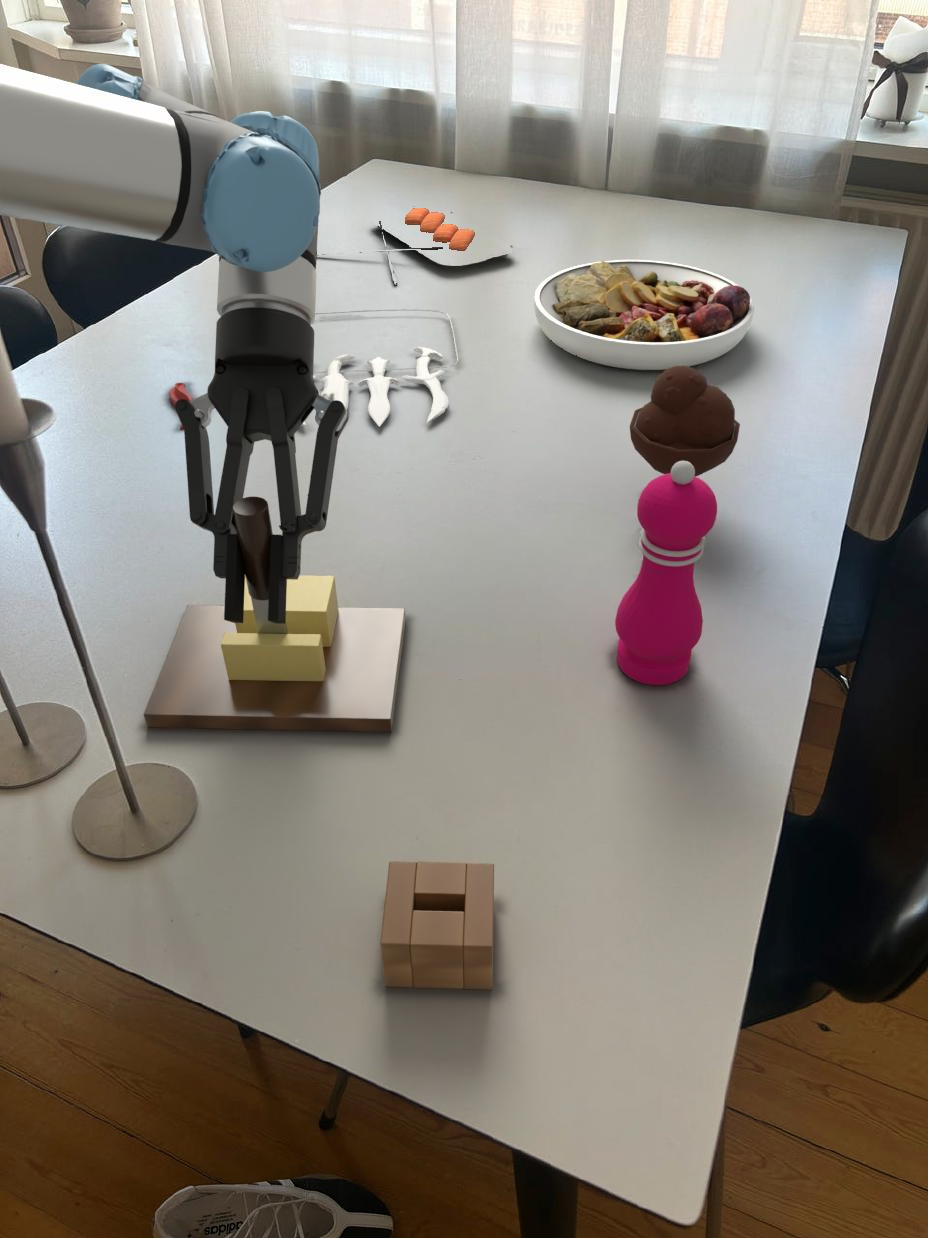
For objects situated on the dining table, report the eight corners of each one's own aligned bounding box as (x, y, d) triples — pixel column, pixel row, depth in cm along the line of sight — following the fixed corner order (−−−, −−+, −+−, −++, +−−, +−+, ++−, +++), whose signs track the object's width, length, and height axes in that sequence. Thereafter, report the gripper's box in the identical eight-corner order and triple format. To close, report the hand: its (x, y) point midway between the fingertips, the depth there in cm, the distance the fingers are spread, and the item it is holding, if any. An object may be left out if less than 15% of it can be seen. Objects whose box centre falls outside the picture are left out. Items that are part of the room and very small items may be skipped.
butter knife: (260, 674, 81) (228, 515, 70) (266, 653, 83) (236, 495, 72) (291, 675, 81) (264, 515, 70) (296, 654, 83) (270, 496, 72)
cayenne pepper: (199, 428, 117) (196, 413, 115) (160, 430, 116) (157, 416, 115) (209, 383, 126) (206, 369, 125) (173, 385, 125) (170, 371, 124)
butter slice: (228, 680, 81) (220, 644, 78) (232, 668, 82) (224, 632, 79) (323, 681, 80) (318, 646, 78) (326, 669, 82) (321, 633, 79)
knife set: (253, 436, 115) (251, 427, 114) (275, 317, 141) (274, 310, 141) (468, 427, 116) (468, 418, 115) (450, 311, 143) (450, 303, 142)
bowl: (514, 368, 128) (516, 310, 123) (552, 284, 151) (554, 233, 146) (745, 391, 123) (757, 332, 118) (749, 300, 145) (759, 247, 140)
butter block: (239, 645, 84) (232, 610, 81) (251, 609, 88) (244, 574, 85) (330, 647, 84) (326, 611, 81) (338, 610, 88) (334, 575, 85)
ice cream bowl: (614, 524, 100) (629, 392, 91) (631, 470, 108) (646, 343, 99) (718, 541, 98) (744, 406, 88) (727, 484, 106) (752, 355, 96)
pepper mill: (593, 656, 85) (614, 458, 72) (651, 623, 88) (681, 428, 75) (653, 702, 80) (687, 500, 67) (712, 666, 84) (755, 466, 71)
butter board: (147, 727, 79) (143, 714, 78) (190, 617, 89) (187, 604, 88) (391, 732, 78) (390, 719, 77) (405, 620, 89) (404, 608, 88)
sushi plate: (521, 261, 159) (521, 237, 156) (355, 297, 147) (353, 273, 145) (435, 212, 178) (435, 191, 175) (283, 242, 166) (280, 219, 164)
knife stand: (384, 987, 61) (379, 944, 58) (393, 905, 66) (389, 860, 63) (492, 990, 61) (493, 947, 58) (493, 907, 66) (494, 863, 62)
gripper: (371, 340, 79) (364, 627, 77) (182, 339, 79) (169, 624, 77) (359, 302, 71) (350, 619, 69) (150, 301, 72) (135, 615, 70)
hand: (255, 621), depth 73 cm, fingers closed on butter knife, 3 cm apart
